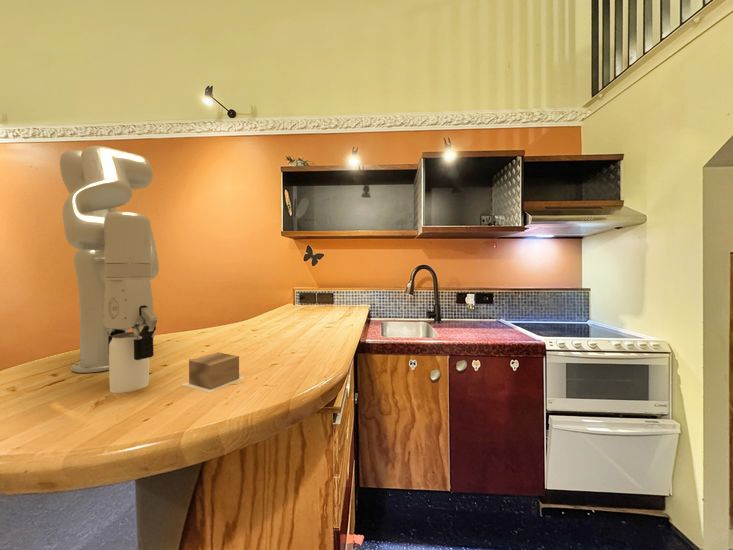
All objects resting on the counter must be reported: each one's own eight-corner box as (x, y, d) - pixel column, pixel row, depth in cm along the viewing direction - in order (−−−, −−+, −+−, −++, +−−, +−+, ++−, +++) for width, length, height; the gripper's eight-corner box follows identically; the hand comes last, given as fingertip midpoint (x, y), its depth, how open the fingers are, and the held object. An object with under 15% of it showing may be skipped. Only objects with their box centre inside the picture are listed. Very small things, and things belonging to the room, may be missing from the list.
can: (127, 399, 58) (126, 338, 58) (101, 396, 59) (100, 337, 59) (156, 386, 64) (156, 331, 64) (132, 384, 66) (131, 330, 66)
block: (189, 383, 64) (188, 360, 63) (218, 373, 70) (218, 352, 70) (210, 389, 60) (210, 365, 60) (239, 378, 67) (239, 356, 67)
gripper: (85, 274, 62) (87, 356, 62) (130, 272, 54) (132, 365, 54) (127, 274, 69) (129, 348, 68) (173, 272, 61) (174, 355, 61)
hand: (130, 355), depth 61 cm, fingers open, 9 cm apart
